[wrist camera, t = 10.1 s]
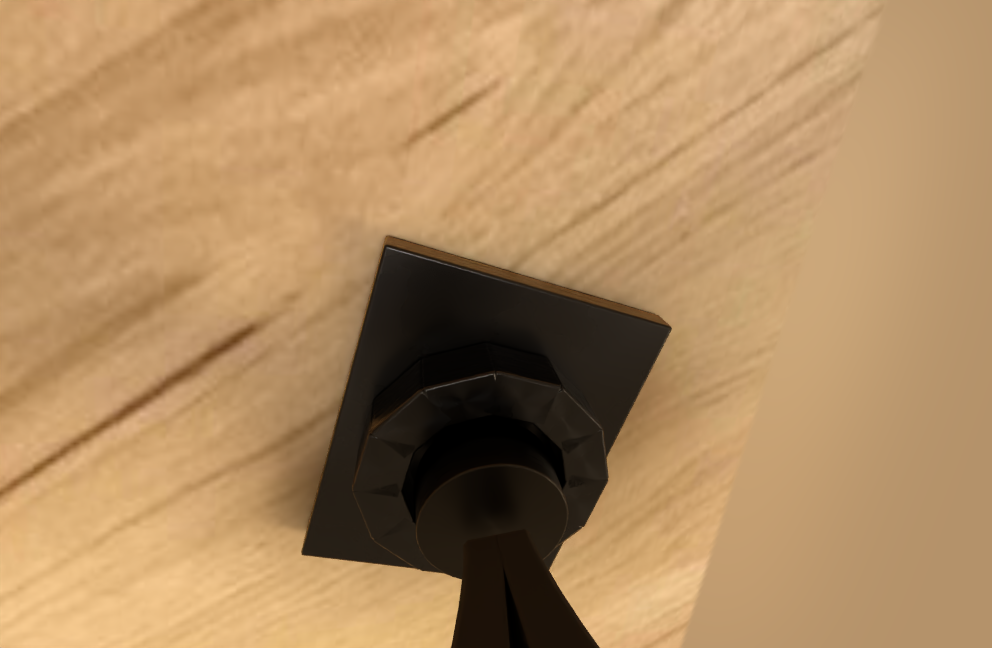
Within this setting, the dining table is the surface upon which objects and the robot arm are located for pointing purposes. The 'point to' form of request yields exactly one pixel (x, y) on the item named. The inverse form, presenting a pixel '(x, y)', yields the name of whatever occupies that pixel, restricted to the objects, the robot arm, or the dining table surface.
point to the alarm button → (486, 491)
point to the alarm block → (471, 391)
